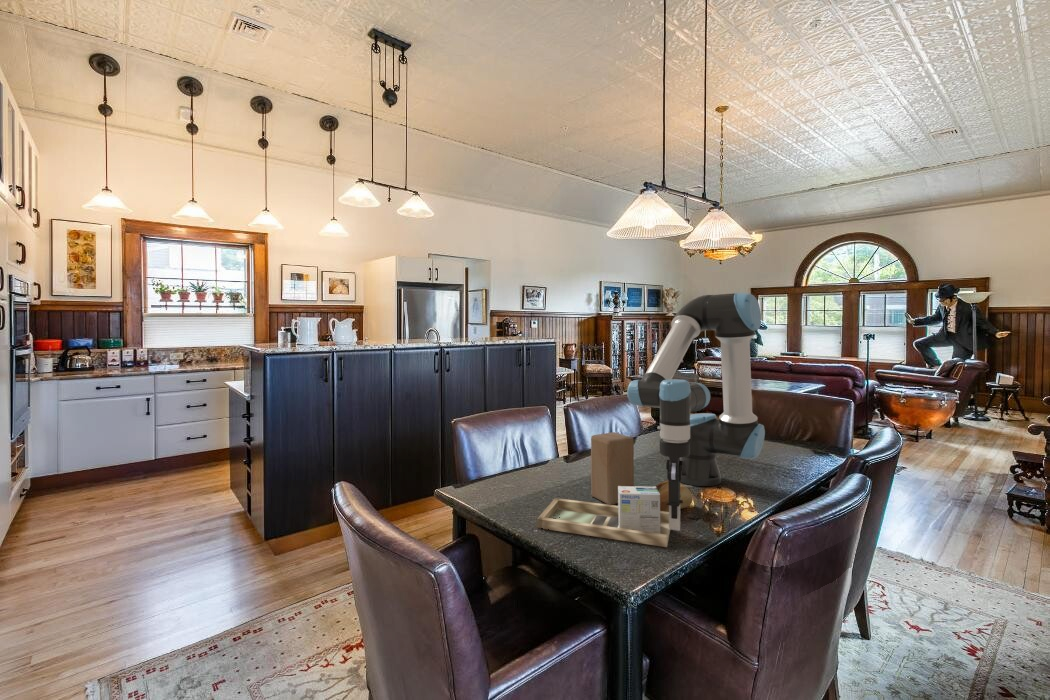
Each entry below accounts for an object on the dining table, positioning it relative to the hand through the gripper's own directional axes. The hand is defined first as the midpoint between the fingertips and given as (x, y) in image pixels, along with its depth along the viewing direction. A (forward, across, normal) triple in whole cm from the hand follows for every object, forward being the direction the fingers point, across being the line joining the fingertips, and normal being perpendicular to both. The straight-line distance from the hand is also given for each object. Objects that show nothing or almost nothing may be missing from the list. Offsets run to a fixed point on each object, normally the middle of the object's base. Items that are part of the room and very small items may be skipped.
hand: (674, 528), depth 124 cm
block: (+2, -20, -20) cm, 29 cm away
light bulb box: (+2, 0, -9) cm, 9 cm away
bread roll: (+2, -18, -2) cm, 18 cm away
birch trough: (+1, 0, -18) cm, 18 cm away
